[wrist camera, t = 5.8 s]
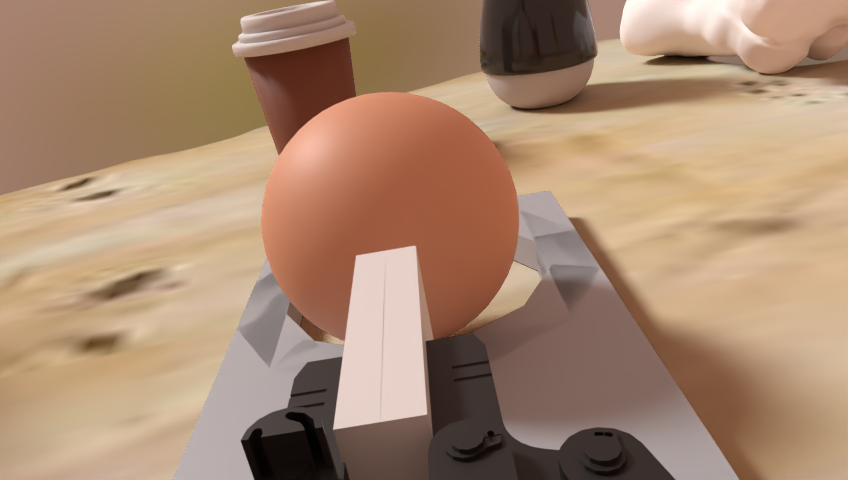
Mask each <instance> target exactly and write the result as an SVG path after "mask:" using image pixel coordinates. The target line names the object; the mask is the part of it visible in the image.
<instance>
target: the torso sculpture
mask: <svg viewBox="0 0 848 480" xmlns="http://www.w3.org/2000/svg"><path fill="white" fill-rule="evenodd" d="M620 38H621V42H622V44H623V46H624V48H625V49H626V50H627V51H629V52H630V53H633V54H637V55H641V56H657V55H667V56H674V55H679V56H690V57H694V56H740V58H741V59H742V61H743V62H744V63H745V64H746V65H747V66H748V67H750V68H751V69H753V70H755V71H757V72H760V73H764V74H778V73H782V72H785V71H787V70H789V69H791V68H793V67H794V66H796V65H797V64H798V63H800V62H801V61H802V60H803V59H804V58H805V57H806V56H807V57H809V58H811V59H814V60H826V59H828V58H830V57H832V56H833V55H834V54H836V53H837V52H838V51H839V50H840V49H842V48H843V47H844V46H845V45H846V44H847V43H848V0H627V1H626V4H625V6H624V10H623V15H622V21H621V26H620Z"/></svg>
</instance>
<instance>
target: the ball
mask: <svg viewBox="0 0 848 480" xmlns="http://www.w3.org/2000/svg"><path fill="white" fill-rule="evenodd" d="M518 233H519V205H518V200H517V194H516V189H515V186H514V183H513V180H512V177H511V174H510V172H509V169H508V167H507V165H506V163H505V161H504V159H503V157H502V155H501V154H500V152H499V151H498V149H497V148H496V146H495V145H494V143H493V142H492V141H491V140H490V139H489V138H488V137H487V135H486V134H485V133H484V132H483V131H482V130H481V129H480V128H479V127H478V126H477V125H475V124H474V123H473V122H472V121H471V120H470V119H469V118H467V117H466V116H464V115H463V114H461V113H460V112H458V111H457V110H455V109H453V108H451V107H449V106H447V105H445V104H443V103H441V102H438V101H436V100H433V99H430V98H427V97H423V96H418V95H413V94H409V93H397V92H380V93H372V94H366V95H361V96H357V97H354V98H350V99H347V100H345V101H342V102H340V103H337V104H335V105H333V106H331V107H329V108H328V109H326V110H324V111H322V112H321V113H319V114H318V115H317V116H315V117H314V118H312V119H311V120H310V121H308V122H307V123H306V124H305V125H304V126H303V127H302V128H301V129H300V130H299V131H298V132H297V133H296V134H295V135H294V136H293V138H292V139H291V140H290V141H289V142H288V144H287V145H286V146H285V148H284V149H283V151H282V152H281V154H280V155H279V157H278V159H277V161H276V163H275V165H274V167H273V169H272V171H271V174H270V177H269V179H268V182H267V185H266V190H265V195H264V200H263V206H262V236H263V242H264V247H265V252H266V255H267V259H268V262H269V264H270V267H271V270H272V273H273V275H274V277H275V279H276V281H277V283H278V284H279V286H280V288H281V290H282V291H283V292H284V294H285V295H286V297H287V298H288V299H289V301H290V302H291V303H292V304H293V305H294V306H295V307H296V308H297V310H298V311H299V312H300V313H301V314H302V315H303V316H304V317H305V318H307V319H308V320H309V321H310V322H312V323H313V324H314V325H315V326H317V327H318V328H320V329H321V330H323V331H325V332H327V333H328V334H330V335H332V336H334V337H336V338H339V339H341V340H343V341H345V336H346V328H347V321H348V313H349V306H350V298H351V291H352V283H353V275H354V268H355V260H356V256H357V255H362V254H368V253H374V252H380V251H386V250H392V249H398V248H404V247H410V246H416V249H417V255H418V260H419V265H420V270H421V276H422V281H423V286H424V292H425V297H426V302H427V307H428V313H429V318H430V323H431V329H432V334H433V339H434V340H435V339H441V338H445V337H448V336H450V335H451V334H453V333H455V332H457V331H458V330H460V329H462V328H463V327H465V326H466V325H467V324H468V323H470V322H471V321H472V320H473V319H475V318H476V317H477V316H478V315H479V314H480V313H481V312H482V311H483V310H484V309H485V308H486V307H487V306H488V305H489V303H490V302H491V301H492V299H493V298H494V297H495V295H496V294H497V293H498V291H499V290H500V288H501V286H502V284H503V282H504V281H505V279H506V277H507V275H508V273H509V270H510V268H511V265H512V263H513V260H514V256H515V252H516V248H517V244H518Z"/></svg>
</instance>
